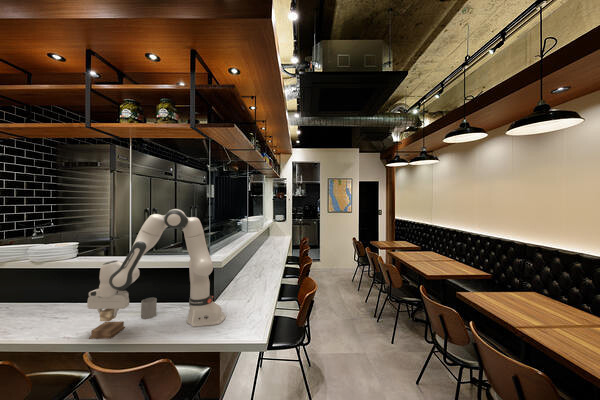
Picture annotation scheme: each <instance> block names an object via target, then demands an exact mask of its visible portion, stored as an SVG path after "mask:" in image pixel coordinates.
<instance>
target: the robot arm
mask: <svg viewBox="0 0 600 400" xmlns="http://www.w3.org/2000/svg"><path fill="white" fill-rule="evenodd" d="M167 228H170V229H176V230H177V229H178V230H182V232H183V234H184V240H185V245H186V249H187V252H188V256H189V261H188V265H189V267H188V268H189V282H190V285H189V286H190V290H189V291H190V293H189V294H190V295H189V296H190V297H189V301H188V303H189V306H188V307H189V309H188V315H187V320H186V323H187V325H191V327H193V328H195V327H204V326H215V325H220V324H221V323H223V322H224V320H225V319H226V313H225V312H223V310H222V307H221V306H220V305H219V304H217V303H216V302H215V301H213V299H214V295H210V285H211V284H210V282H211V281H210V279H209V276H210V275H211V273H212V272H213V270H214V265H213V262H212V258H211V255H210V252H209V249H208V245H207V243H206V237H205V232H204V228H203V225H202V223H201V220H200V219H199V218H198V217H196V216H192V217H191V216H190V217H188V216H187V215H186V213H185V212H184V211H183V210H182V209H179V208H174V209H169V211H168V212H166V213H165V214H164V215H163V214H160V213H152V214H151V215H149V216H148V217H147V219H146V220H145V221H144V223H143V224H142V226H141V228H140V230H139V232H138V234H137V236H136V238H135V240H134V243H133V245H132V247H131V249H130V251H129V252H128V254H127V256H126V257H125V258H124V260H123V262H122V261H119V260H111V261H107V262H104V263H103V264H101V266H100V270H99V286H98V288H96V289H94V290H90V291H89V292H88V298H87V302H86V303H87V304H86V305H87V309H88V310H97V313H98V314H99V315H100V312H101V311H103V310H105V309H114V311H115V312H114V313H112V317H115V316H116V317H117V313H118V311H119V310H121V309H122V310H123V309H126V308H127V307H128V308H129V306H130V298H129V293H130V292H128V291H127V290H126V289H127V288H129V286H131V284H133V283H134V282H135V281H136V280H137V279H139V277H140V276H141V275H140V273H141V271H140V269H139V267H137V265H138V264H139V262H140V260H141V259H142V257H143V256H144V255H145V254H146V253H147V252H148V251H150V250H151V249H152V248H154V247H155V246H156V245H157V243H158V242H159V240H160V239H161V236H162V234H163V232H164V231H165V230H166V229H167ZM116 317H115V318H116Z"/></svg>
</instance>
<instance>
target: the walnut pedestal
mask: <svg viewBox="0 0 600 400" xmlns="http://www.w3.org/2000/svg"><path fill="white" fill-rule="evenodd" d="M124 323H125V321H123V320H122V321H103V323H101V324H100V325H98V326H96V327H95V328H93V329H92V330H91V332H90V333H91V336H89V337H88V339H89V340H98V339H99V340H100V339H101V340H103V339H105V340H109V339H113V338H114V337H115V336H117V335H118V334H119V333H121V332H122V331H124V330H125V329H126V326H125V325H124ZM120 331H121V332H120Z"/></svg>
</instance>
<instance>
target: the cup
mask: <svg viewBox="0 0 600 400" xmlns="http://www.w3.org/2000/svg"><path fill="white" fill-rule="evenodd" d="M157 300H158V299H157V298H156V297H148V298H145V299H142V300H141V302H140V319H141V320H149V319H152V318H154V317H156V316H157V304H158V303H157Z"/></svg>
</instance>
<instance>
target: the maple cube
mask: <svg viewBox="0 0 600 400" xmlns="http://www.w3.org/2000/svg"><path fill="white" fill-rule="evenodd" d="M102 310H103V311H101V312H100V314H99V322H112V321H113V320H114V319H115V318H116V317H117V315H116V316H115V317H112V313H114V312H115V311H114V309H102Z"/></svg>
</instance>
